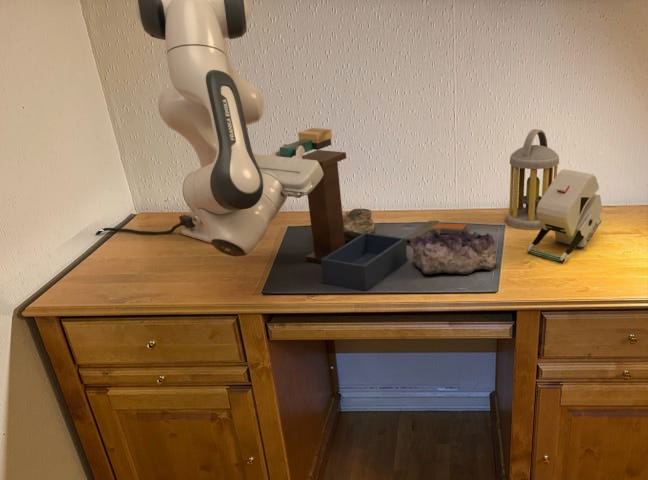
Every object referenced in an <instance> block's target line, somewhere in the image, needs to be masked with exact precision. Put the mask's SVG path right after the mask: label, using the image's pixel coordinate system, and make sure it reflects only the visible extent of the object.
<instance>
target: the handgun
mask: <svg viewBox="0 0 648 480" xmlns="http://www.w3.org/2000/svg"><path fill="white" fill-rule="evenodd" d="M462 231H467V224H464V223H441V222H440V221H439V220H435V219H434V220H428V221H427V222H426V223H424V224H423V225H421V226H420V227H419V228H418V229H417V230H416V231H414V232H413V233H412V234H411V235H410V236H408V237H406V246H407V245H408V246H411V240H412V238H415V237H421V238H423V236H424V235H426V234H430V235H433V236H435V234H440V235H451V234H453V233H456V232H458V234H459V235H461V233H462Z"/></svg>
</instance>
